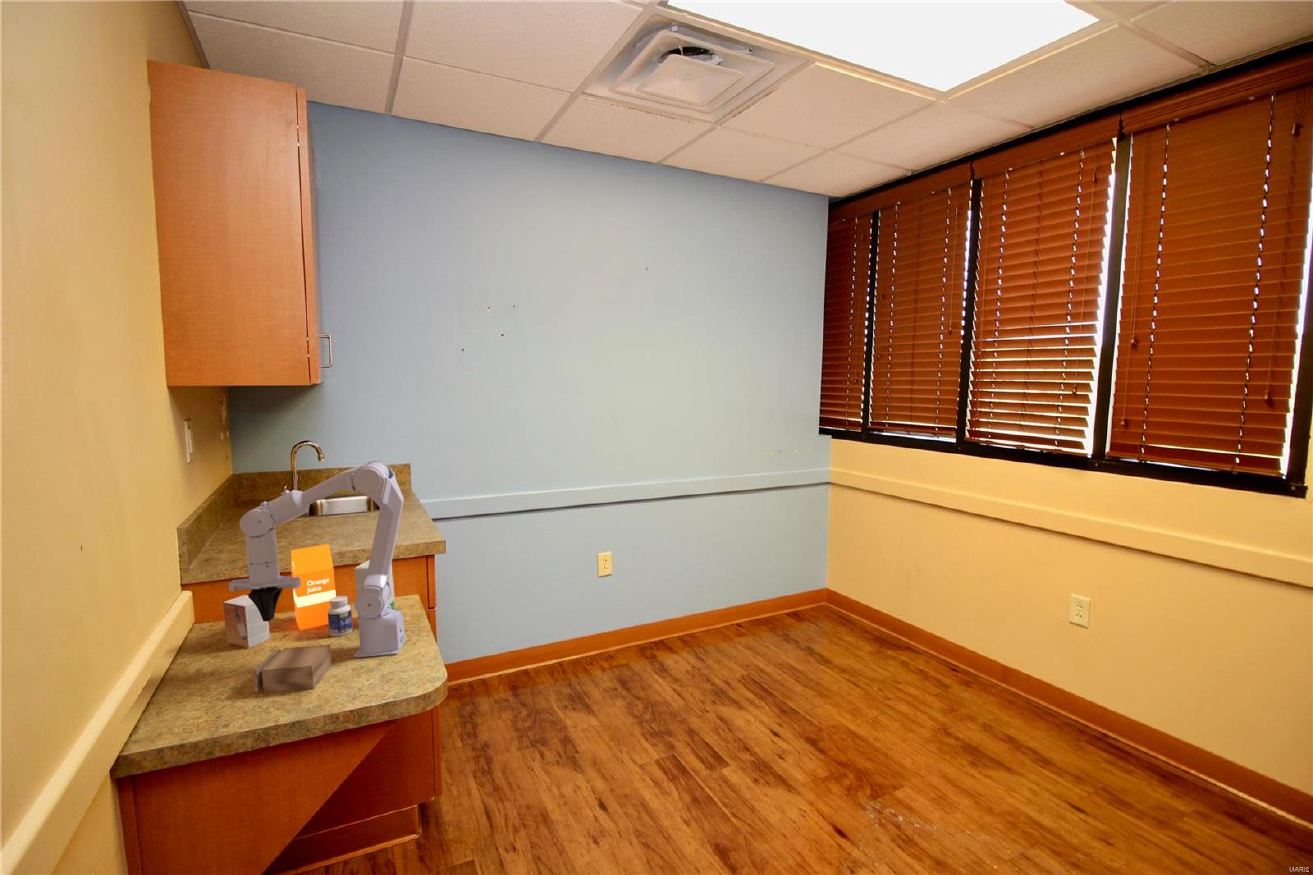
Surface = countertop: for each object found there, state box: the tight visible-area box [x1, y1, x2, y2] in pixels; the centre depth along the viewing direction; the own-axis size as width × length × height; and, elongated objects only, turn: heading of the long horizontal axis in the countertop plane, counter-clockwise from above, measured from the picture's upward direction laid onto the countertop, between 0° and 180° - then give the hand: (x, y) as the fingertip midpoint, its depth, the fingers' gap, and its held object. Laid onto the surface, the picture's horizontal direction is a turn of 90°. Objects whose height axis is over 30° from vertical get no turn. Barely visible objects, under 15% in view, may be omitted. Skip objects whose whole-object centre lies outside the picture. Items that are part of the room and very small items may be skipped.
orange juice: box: [290, 544, 337, 631], centre depth 162 cm, size 8×9×20 cm
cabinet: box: [262, 644, 332, 694], centre depth 132 cm, size 10×10×5 cm
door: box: [251, 649, 282, 693], centre depth 131 cm, size 1×10×5 cm, turn 5°
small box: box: [222, 594, 271, 649], centre depth 151 cm, size 8×6×10 cm
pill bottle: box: [327, 595, 353, 637], centre depth 155 cm, size 5×5×9 cm
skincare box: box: [354, 559, 396, 610], centre depth 162 cm, size 8×7×16 cm
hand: (268, 619), depth 139 cm, fingers closed
